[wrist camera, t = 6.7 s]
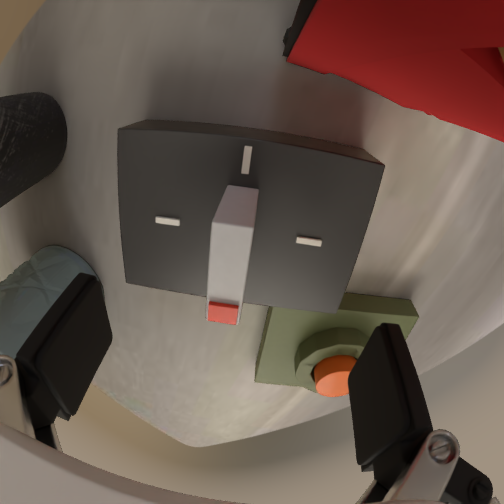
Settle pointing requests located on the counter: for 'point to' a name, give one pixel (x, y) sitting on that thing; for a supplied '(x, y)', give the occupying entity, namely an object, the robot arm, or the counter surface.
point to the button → (333, 375)
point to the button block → (323, 336)
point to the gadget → (267, 213)
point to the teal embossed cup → (35, 293)
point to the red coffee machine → (411, 53)
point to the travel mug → (29, 141)
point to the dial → (230, 254)
